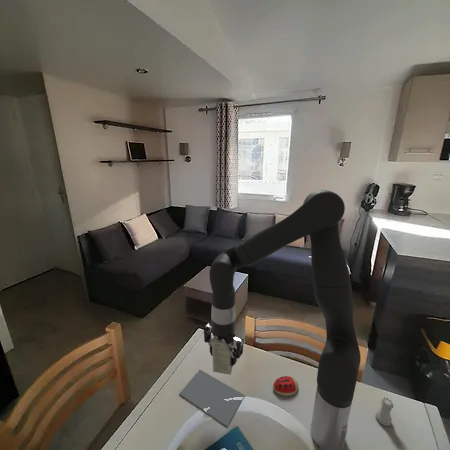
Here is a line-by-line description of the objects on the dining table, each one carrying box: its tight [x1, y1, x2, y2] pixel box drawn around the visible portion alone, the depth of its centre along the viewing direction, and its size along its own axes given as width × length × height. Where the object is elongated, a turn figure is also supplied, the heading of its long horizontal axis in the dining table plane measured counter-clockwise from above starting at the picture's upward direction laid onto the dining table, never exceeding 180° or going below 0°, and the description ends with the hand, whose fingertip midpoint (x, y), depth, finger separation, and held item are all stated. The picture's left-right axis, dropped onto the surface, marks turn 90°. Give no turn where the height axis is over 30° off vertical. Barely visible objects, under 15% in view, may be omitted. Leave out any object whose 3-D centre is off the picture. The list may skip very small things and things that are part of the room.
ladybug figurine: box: [272, 375, 299, 397], centre depth 86 cm, size 7×10×4 cm
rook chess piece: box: [375, 396, 394, 427], centre depth 75 cm, size 4×4×8 cm
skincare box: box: [212, 336, 234, 376], centre depth 77 cm, size 6×4×12 cm
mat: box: [178, 369, 246, 428], centre depth 83 cm, size 20×12×1 cm, turn 59°
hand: (222, 358), depth 77 cm, fingers closed on skincare box, 7 cm apart
